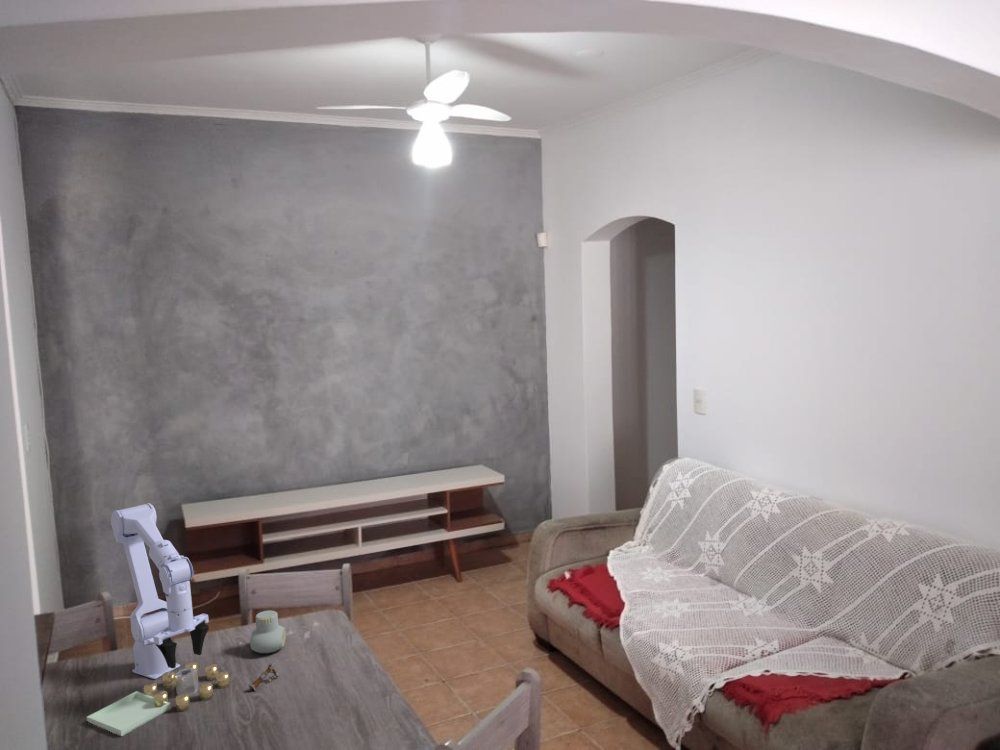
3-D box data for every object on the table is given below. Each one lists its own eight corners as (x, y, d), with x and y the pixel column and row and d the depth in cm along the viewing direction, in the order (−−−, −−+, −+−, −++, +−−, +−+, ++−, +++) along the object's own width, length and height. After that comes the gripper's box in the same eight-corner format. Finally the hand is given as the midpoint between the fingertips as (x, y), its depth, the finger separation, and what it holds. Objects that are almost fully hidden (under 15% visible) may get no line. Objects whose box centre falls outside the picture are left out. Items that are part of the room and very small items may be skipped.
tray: (87, 722, 186) (86, 716, 186) (137, 696, 197) (136, 691, 197) (121, 736, 179) (120, 730, 179) (171, 708, 190) (170, 702, 190)
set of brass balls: (134, 700, 195) (132, 689, 195) (195, 668, 210) (194, 657, 210) (179, 716, 186) (178, 704, 186) (239, 682, 202) (238, 671, 201)
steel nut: (173, 693, 198) (171, 674, 197) (188, 685, 202) (186, 666, 201) (187, 698, 195) (185, 678, 195) (202, 689, 199) (200, 670, 198)
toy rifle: (282, 674, 203) (275, 661, 201) (259, 698, 198) (252, 686, 196) (278, 672, 204) (271, 659, 203) (255, 696, 199) (247, 684, 197)
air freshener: (257, 641, 225) (254, 607, 224) (287, 638, 226) (284, 605, 225) (250, 659, 214) (246, 624, 213) (281, 656, 215) (278, 621, 214)
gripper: (164, 622, 188) (170, 676, 189) (214, 599, 200) (219, 651, 202) (145, 617, 191) (151, 670, 193) (196, 595, 204) (200, 646, 205)
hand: (184, 660), depth 197 cm, fingers open, 7 cm apart
